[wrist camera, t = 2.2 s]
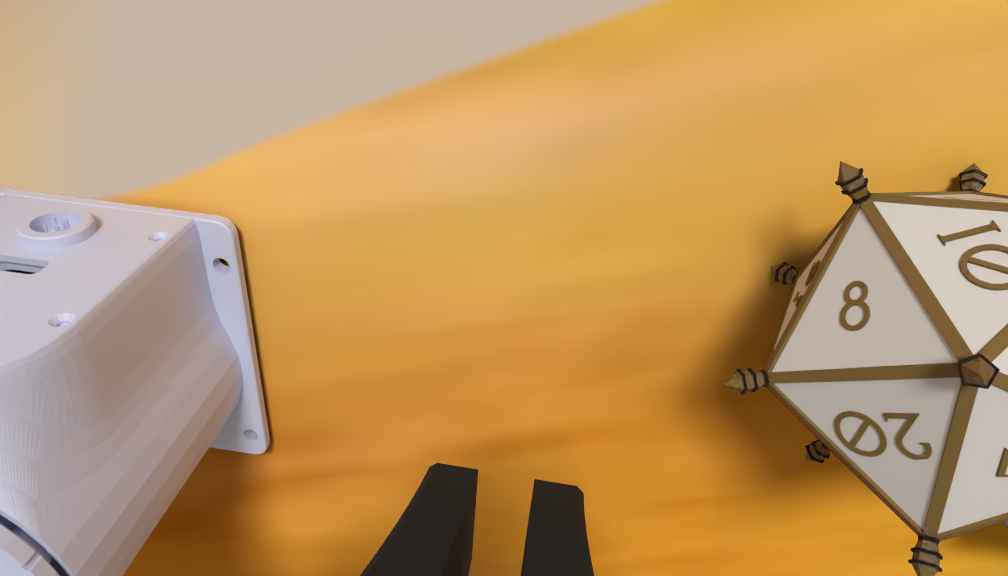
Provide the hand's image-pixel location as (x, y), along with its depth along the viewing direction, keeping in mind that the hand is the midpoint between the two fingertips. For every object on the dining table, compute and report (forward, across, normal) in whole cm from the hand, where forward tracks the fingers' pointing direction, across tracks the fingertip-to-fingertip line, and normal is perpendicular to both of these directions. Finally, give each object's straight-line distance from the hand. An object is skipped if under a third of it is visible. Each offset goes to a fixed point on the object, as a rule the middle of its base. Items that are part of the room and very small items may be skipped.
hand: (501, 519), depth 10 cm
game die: (+11, -9, 0) cm, 14 cm away
